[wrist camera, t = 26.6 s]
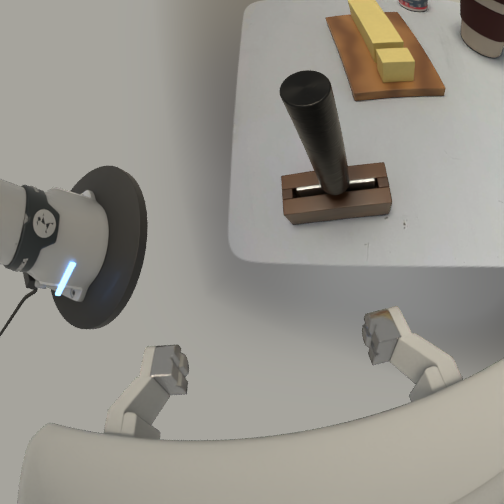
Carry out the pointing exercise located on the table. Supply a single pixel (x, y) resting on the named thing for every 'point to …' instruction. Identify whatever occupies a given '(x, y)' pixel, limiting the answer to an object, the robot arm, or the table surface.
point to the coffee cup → (483, 25)
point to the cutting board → (365, 69)
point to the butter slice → (395, 64)
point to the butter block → (374, 26)
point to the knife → (319, 133)
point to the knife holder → (337, 197)
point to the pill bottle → (414, 4)
